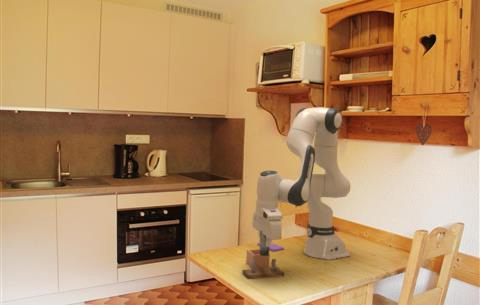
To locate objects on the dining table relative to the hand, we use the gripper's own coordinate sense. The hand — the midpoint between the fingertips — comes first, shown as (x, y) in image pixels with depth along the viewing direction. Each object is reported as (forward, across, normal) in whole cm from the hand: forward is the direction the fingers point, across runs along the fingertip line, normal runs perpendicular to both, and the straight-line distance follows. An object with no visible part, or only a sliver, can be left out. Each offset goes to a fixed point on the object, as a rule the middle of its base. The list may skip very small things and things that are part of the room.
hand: (264, 244), depth 163 cm
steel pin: (+4, 0, 0) cm, 4 cm away
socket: (+12, -11, +2) cm, 17 cm away
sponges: (+13, -33, +19) cm, 41 cm away
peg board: (+13, 0, 0) cm, 13 cm away
